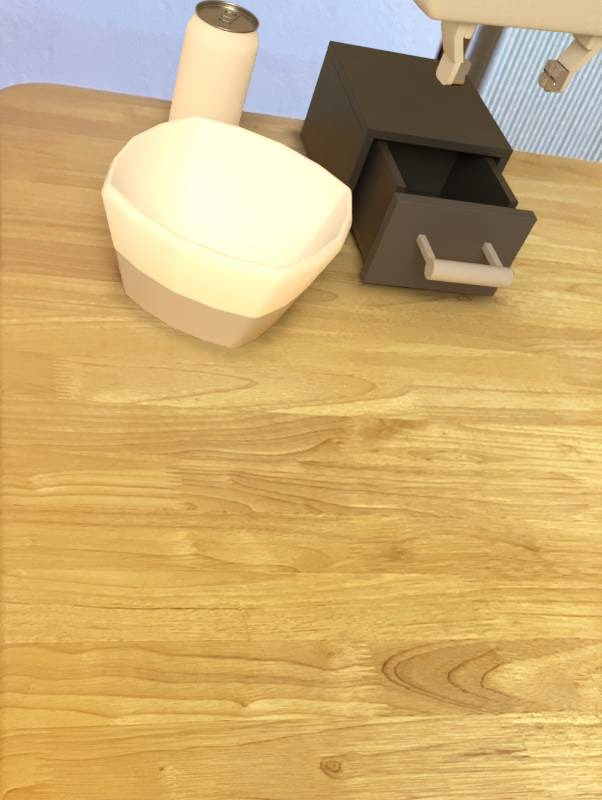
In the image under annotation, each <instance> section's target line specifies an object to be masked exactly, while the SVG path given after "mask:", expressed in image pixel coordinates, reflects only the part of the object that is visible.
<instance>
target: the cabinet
mask: <svg viewBox="0 0 602 800" xmlns="http://www.w3.org/2000/svg"><path fill="white" fill-rule="evenodd" d="M323 58H324V59H323V61H322V65H321V68H320V71H319V73H318V77H317V80H316V83H315V87H314V89H313V93H312V96H311V99H310V103H309V105H308V108H307V112H306V115H305V117H304V122H303V125H302V128H301V131H300V134H299V139H300V140H301V141H300V142H301V144H302V146H303V149H304V151H305V155H306V158H308V159H310V160H312V161H313V162H315V163H317V164H319V165H320V166H322V167H323V168H324V169H326V170H327V171H328V172H329V173H331V174H332V175H333V176H335V177H336V178H337V179H339V180H340V181H341V182H343V183H344V184H345V185H346V186H348V187H349V188H350V189H351V193H352V194H353V191H354V189H355V186H356V184H357V181H358V178H359V176H360V173H361V171H362V168H363V165H364V163H365V160H366V158H367V155H368V152H369V150H370V147H371V145H372V142H373V139H374V138H375V139H382V140H388V141H395V142H401V143H408V144H415V145H421V146H428V147H434V148H441V149H447V150H454V151H461V152H467V153H474V154H480V155H487V156H492V157H493V159H494V161H495V163H496V164H497V166H498V168H499V170H500V171H501V173H502V174H503V172H504V170H505V169H506V166H507V164H508V163H509V160H510V158H511V157H512V154H513V153H514V149H513V147H512V145H511V144H510V142H509V141H508V139H507V137H506V136H505V135H504V133H503V131H502V129H501V128H500V126H499V124H498V123H497V121H496V120H495V118H494V116H493V114H492V113H491V111H490V109H489V108H488V106H487V105H486V103H485V101H484V100H483V98H482V97H481V95H480V93H479V91H478V90H477V88H476V86H475V85H474V83H473V82H472V80H471V79H470V77H469V75H468V74H467V75H466V76H465V81H464V83H463V84H462V85H461V86H451V85H443V84H442V83H441V82H440V81H439V80H438V79H437V77H436V71H437V68H438V65H439V63H440V60H441V59H437V58H431V57H424V56H419V55H414V54H408V53H402V52H397V51H392V50H391V51H390V50H385V49H381V48H374V47H369V46H363V45H358V44H353V43H352V44H351V43H346V42H340V41H334V40H329V42H328V45H327V48H326V51H325V55H324V57H323ZM350 230H353V229H352V226H351V228H350Z"/></svg>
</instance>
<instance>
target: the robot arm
mask: <svg viewBox="0 0 602 800" xmlns="http://www.w3.org/2000/svg"><path fill="white" fill-rule="evenodd" d="M412 1H413V2H414V4H415V5H416V6H417V7H418V9H420V11H421V12H422V13H423V14H424V15H426V16H427V17H428V18H429V19H431V20H433V21H441V22H440V30H441V41H442V51H443V53H442V56H441V58H440V59H439V60H440V63H439V65H438V68H437V71H436V77H437V79H438V80H439V81H440V82H441V83H442V84H443V85H451V86H461V85H462V84H463V83H464V81H465V76H466V75H468V74H469V72H470V70H471V67H472V66H473V63H472V62H471V61H470V60H469V59H468V58H466V56H465V55H464V39H465V40H466V39H467V40H470V39H471V38H472V37H473V34H474V32H475V30H476V28H477V25H483V26H492V27H493V26H494V27H502V28H503V27H504V28H513V29H522V30H523V29H524V30H532V31H544V32H554V33H562V34H563V33H564V34H571V36H572V37H573V38H574V40H573V41H572V42H571V43H569V46H567V47H566V48H565V49H564V51H563V52H562V53H561V54H560V55H559V56H558V57H557V58H556V59H547V61H546V63H545V65H544V67H543V71H542V72H541V73H540V75H539V76H538V81H537V82H538V86H539V87H540V88H542V89H543V91H544V92H546V93H555V94H563V93H564V92H565V91H566V90H567V89H568V86H569V85H570V83H571V81H572V80H573V77H574V76H575V74H576V73H577V72H578V71H580V70H581V69H582V68H583V67H584V66H585V65H586V64H587V63H589V62H590V61H591V60H592V59H593V58H594V57H595V56H597V55H598V54H599V53H600V52H601V50H602V0H412Z"/></svg>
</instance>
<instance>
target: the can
mask: <svg viewBox="0 0 602 800" xmlns="http://www.w3.org/2000/svg"><path fill="white" fill-rule="evenodd" d="M259 27H260V20H259V18H258V17H257V15H255V14H254V13H253V12H252V11H251V10H249V9H247V8H245V7H243V6H241V5H239V4H236V3H233V2H230V1H226V0H201V1H199V2H198V3H196V5H195V7H194V14H193V15H192V16H191V17H190V19H188V22H187V25H186V28H185V32H184V37H183V43H182V48H181V53H180V57H179V62H178V67H177V73H176V78H175V84H174V87H173V88H174V89H173V94H172V100H171V104H170V109H169V114H168V120H167V122H169V121H173V120H177V119H181V118H185V117H190V116H195V115H197V116H201V117H205V118H209V119H213V120H216V121H220V122H224V123H228V124H231V125H235V126H239V127H240V121H241V117H242V114H243V110H244V106H245V103H246V100H247V95H248V91H249V87H250V83H251V79H252V77H253V76H252V75H253V71H254V67H255V63H256V59H257V56H258V51H259V46H260V39H259V34H258V29H259Z"/></svg>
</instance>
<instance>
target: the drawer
mask: <svg viewBox="0 0 602 800" xmlns="http://www.w3.org/2000/svg"><path fill="white" fill-rule="evenodd" d="M519 203H520V202H519V201H518V199H517V197H516V195H515V194H514V192H513V190H512V189H511V187H510V185H509V183H508V181H507V180H506V178H505V176H504V175H503V172H502V173H501V171H500V170H499V168H498V166H497V164H496V163H495V161H494V159H493V157H492V156H487V155H480V154H474V153H467V152H461V151H454V150H447V149H441V148H434V147H428V146H421V145H415V144H408V143H401V142H395V141H388V140H382V139H375V138H374V139H373V142H372V145H371V147H370V150H369V152H368V155H367V158H366V160H365V163H364V165H363V168H362V171H361V173H360V176H359V178H358V181H357V184H356V186H355V189H354V191H353V194H352V224H351V226H352V229H351V230H352V232H353V233H354V234H353V235H354V236H355V239H356V242H357V244H358V247H359V250H360V253H361V255H362V258H363V260H364V264H363V266H362V269H361V270H360V278H361V280H362V282H363V283H366V284H374V285H384V286H393V287H401V288H411V289H421V290H429V291H430V290H431V291H438V292H447V293H448V292H449V293H457V294H466V295H474V296H475V295H476V296H483V297H494V296H495V293H496V292H497V291H498V289H508V288H509V287H511V285H512V283H513V281H514V276H515V275H514V269H513V268H512V267H511V266H512V265H513V262H514V261H515V259H516V257H517V255H518V254H519V253H520V251H521V249H522V247H523V245H524V244H525V242H526V240H527V239H528V237H529V235H530V233H531V231H532V229H533V228H534V226H535V225H536V223H537V221H538V217H537V216H536V214H535V212H534V211H533V210H530V209H529V210H528V209H519V208H517V207H518V205H519Z"/></svg>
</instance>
